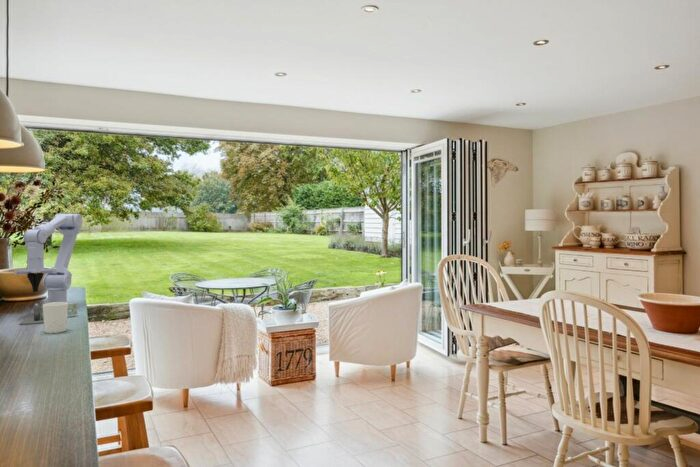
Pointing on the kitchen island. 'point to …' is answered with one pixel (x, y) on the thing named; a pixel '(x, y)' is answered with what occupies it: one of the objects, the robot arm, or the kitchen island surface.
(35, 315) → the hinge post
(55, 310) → the white cup
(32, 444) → the kitchen island surface
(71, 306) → the pale green slotted bar
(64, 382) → the kitchen island surface
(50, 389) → the kitchen island surface
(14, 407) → the kitchen island surface
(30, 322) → the mat
